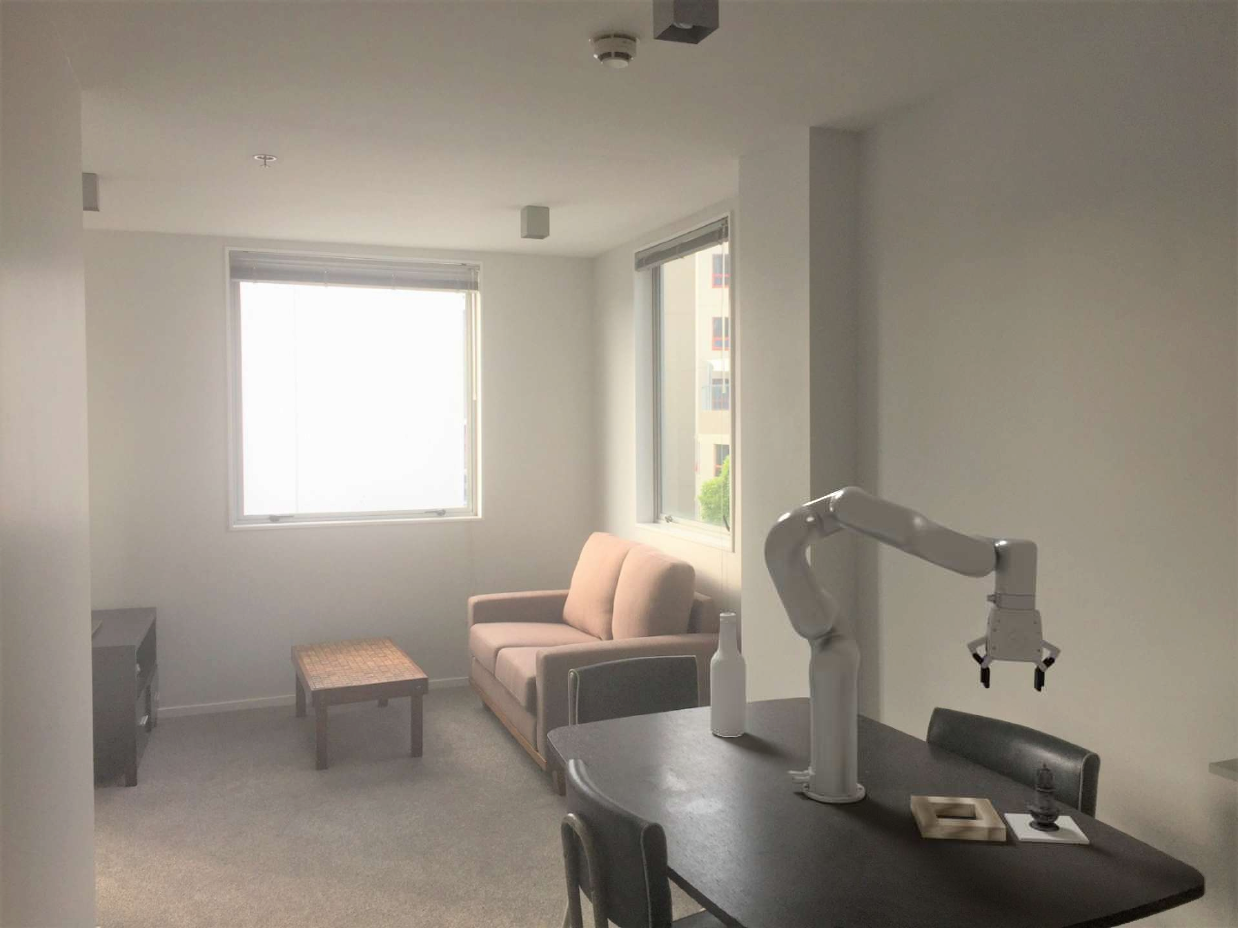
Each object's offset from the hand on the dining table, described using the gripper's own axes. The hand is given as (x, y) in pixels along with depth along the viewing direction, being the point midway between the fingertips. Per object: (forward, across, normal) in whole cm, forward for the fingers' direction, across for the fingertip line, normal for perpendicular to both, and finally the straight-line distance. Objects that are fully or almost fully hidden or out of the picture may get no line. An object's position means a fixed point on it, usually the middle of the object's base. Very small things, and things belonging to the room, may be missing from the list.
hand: (1011, 688), depth 199 cm
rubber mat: (+24, +5, -9) cm, 26 cm away
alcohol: (+26, -58, +44) cm, 77 cm away
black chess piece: (+24, +5, -9) cm, 26 cm away
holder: (+25, -11, -8) cm, 28 cm away
